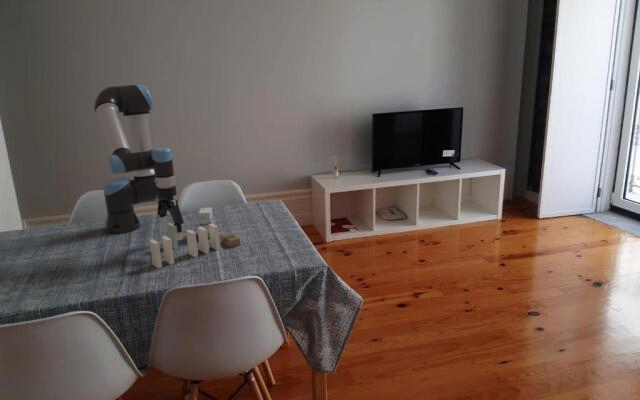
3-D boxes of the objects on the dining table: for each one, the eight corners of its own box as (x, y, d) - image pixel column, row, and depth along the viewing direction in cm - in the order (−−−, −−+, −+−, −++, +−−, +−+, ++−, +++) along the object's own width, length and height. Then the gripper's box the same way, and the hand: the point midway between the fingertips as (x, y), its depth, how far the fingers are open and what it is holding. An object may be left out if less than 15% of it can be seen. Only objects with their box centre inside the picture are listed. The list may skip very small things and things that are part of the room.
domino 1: (158, 268, 190) (154, 243, 187) (152, 264, 193) (149, 240, 191) (162, 267, 191) (158, 242, 188) (156, 263, 194) (153, 239, 192)
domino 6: (216, 250, 205) (214, 227, 202) (211, 247, 209) (208, 224, 206) (220, 249, 206) (218, 226, 203) (214, 246, 210) (212, 223, 207)
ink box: (212, 238, 218) (209, 212, 215) (201, 239, 218) (198, 213, 214) (214, 231, 226) (212, 206, 223) (203, 232, 226) (200, 207, 223)
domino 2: (174, 249, 208) (171, 226, 205) (169, 245, 212) (166, 223, 209) (178, 248, 209) (175, 225, 206) (173, 244, 213) (170, 222, 210)
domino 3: (170, 264, 193) (167, 240, 190) (165, 260, 196) (161, 236, 194) (174, 263, 194) (171, 239, 191) (169, 259, 197) (165, 235, 195)
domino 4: (194, 257, 199) (191, 233, 196) (188, 253, 203) (186, 230, 200) (198, 256, 200) (195, 232, 197) (192, 252, 204) (189, 229, 201)
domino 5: (205, 253, 202) (203, 230, 199) (200, 250, 206) (197, 227, 203) (209, 252, 203) (206, 229, 200) (203, 249, 207) (201, 226, 204)
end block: (220, 242, 214) (220, 235, 213) (229, 239, 216) (228, 233, 215) (231, 247, 207) (231, 240, 206) (240, 245, 209) (239, 238, 208)
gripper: (145, 183, 210) (151, 230, 216) (170, 193, 191) (176, 245, 197) (162, 179, 214) (168, 226, 220) (188, 189, 196) (194, 240, 202)
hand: (172, 235), depth 209 cm, fingers open, 13 cm apart
